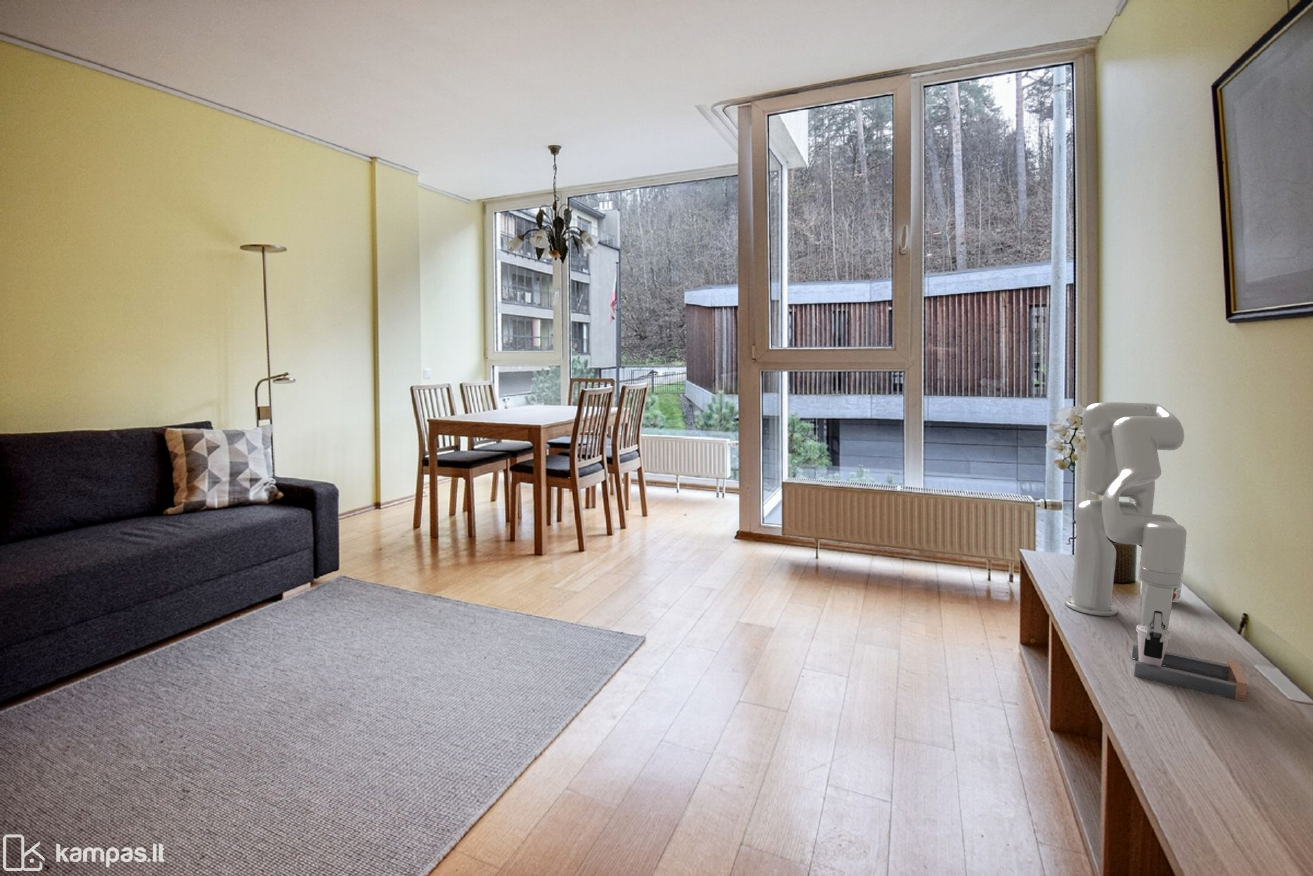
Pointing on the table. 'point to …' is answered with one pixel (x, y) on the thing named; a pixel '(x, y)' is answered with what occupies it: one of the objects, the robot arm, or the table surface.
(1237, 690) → the grey frame
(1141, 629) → the smoothie
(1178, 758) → the table surface
